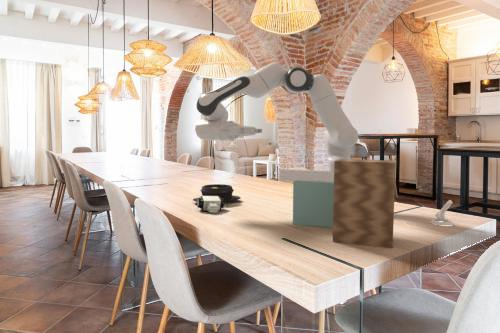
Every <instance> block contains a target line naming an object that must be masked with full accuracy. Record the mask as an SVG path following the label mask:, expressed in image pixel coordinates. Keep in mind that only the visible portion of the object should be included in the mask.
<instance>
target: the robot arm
mask: <svg viewBox="0 0 500 333" xmlns="http://www.w3.org/2000/svg"><path fill="white" fill-rule="evenodd" d="M278 87H281V88H282V89H284V90H285V91H286V92H287V93H289V94H292V95H296V94H300V93H302V92H303V93H306V94H307V96H308V97H309V98H310V102H311V103H312V107H313V108H314V110H315V113H316V115H317V118H318V119H319V121H320V122H321V123H322V125H323V126H324V128H325V131H324V134H323V140H324V144H325V152H326V153H325V154H326V159H327V160H326V161H327V162H326V163H327V164H326V166H327V167H326V169H327V170H326V171H334V161H336V160H338V159H350V160H352V158H351V156H350V150H349V149H350V148H351V147H353V146H355V145H356V143H357V142H358V140H359V133H358V131H357V129H356V128H355V127H354V126H353V124H352V122H351V121H350V119H349V117H348V116H347V115H346V114H345V112H344V109H343V108H342V107H341V104H340V101H339V100H338V98H337V95H336V92H335V91H334V88H333V86H332V85H331V83H330V81H329V79H328V78H327V77H326V75H324V74H322V73H318V74H314V75H313V74H312V73H310V72H309V71H307V70H306V69H305V68H303V67H301V66H295V67H292V68H290V69H289V70H288V69H286V68H285V67H284V66H283V65H282V64H281V63H280V62H277V61H272V62H271V63H269V64H268V63H267V64H266V65H264V66H262V67H261V68H259V69H257V70H256V71H255V72H253V73H251V74H249V75H246V76H245V75H243V76H239V77H236V78H235V79H232V80H230V81H229V82H227V83H225V84H222V86H220V87H217V88H215V89H213V90H211V91H207V92H205V93H203V94H201V95H200V96H199V97H198V99H197V100H196V110H197V111H198V113H200V114H201V115H202V116H203V118H202V119H201V120H200V121H198V122H197V123H196V124H195V127H194V128H195V130H194V131H195V133H196V136H197V137H198V138H199V139H200V140H204V141H214V142H215V141H223V142H224V141H226V142H227V141H228V142H231V141H234V140H236V139H239V138H241V137H248V136H250V137H251V136H255V135H256V134H262V133H263V129H262V128H256V127H255V126H249V125H241V124H240V123H237V122H235V121H233V120H228V119H229V112H228V109H226V107H225V106H224V104H222V103H223V102H224V101H227V99H230V98H232V97H234V96H235V95H238V94H244V95H246V96H248V97H250V98H255V99H259V98H262V97H264V96H266V95H268V94H269V93H270V92H272V91H273V90H274V89H276V88H278Z"/></svg>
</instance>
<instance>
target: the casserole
mask: <svg viewBox="0 0 500 333" xmlns="http://www.w3.org/2000/svg"><path fill="white" fill-rule="evenodd" d="M200 192H201V196H219V197H220V198H223V199H224V205H225V204H228V203H230V202H232V201H237V200H241V199H242V198H241V196H239V195H235V194H234V195H233V192H234V189H233V186H232V185H229V184H225V183H223V184H221V183H220V184H218V183H216V184H213V183H212V184H205V185H202V187H201V189H200ZM198 198H199V197H195V198H193V199H192V201H194V202H196V203H197V199H198Z"/></svg>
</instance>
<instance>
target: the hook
mask: <svg viewBox="0 0 500 333" xmlns="http://www.w3.org/2000/svg"><path fill="white" fill-rule="evenodd" d="M451 205H453V201H452V200H451V199H449V200H448V201H446V203H445V204H444V205H443V206H442V208H441V209H440V210H439V211H438V212H436V214H435V215H434V216H435V218H433V219H432V220H431V221H430V224H431V223H433V224H436V225H454V223H453V222H452V220H450V219H447V218H446V215H445V213H446V211H448V209H450V207H452V206H451ZM439 221H443V222H439ZM436 225H435V226H436Z"/></svg>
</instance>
